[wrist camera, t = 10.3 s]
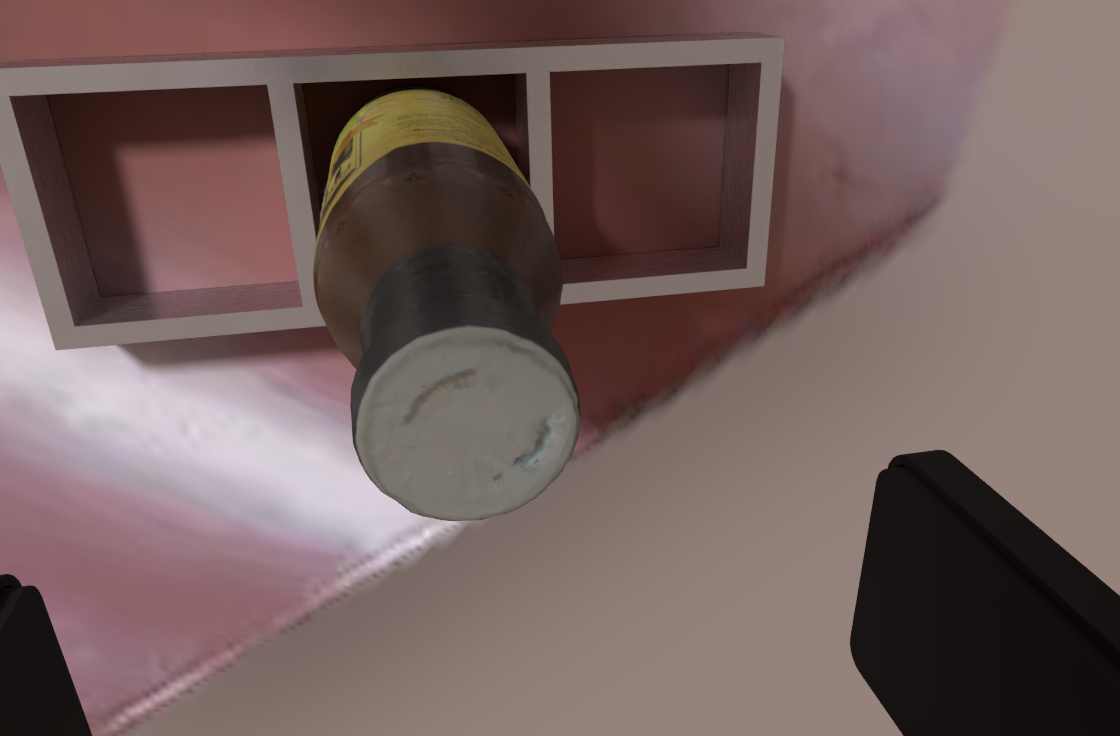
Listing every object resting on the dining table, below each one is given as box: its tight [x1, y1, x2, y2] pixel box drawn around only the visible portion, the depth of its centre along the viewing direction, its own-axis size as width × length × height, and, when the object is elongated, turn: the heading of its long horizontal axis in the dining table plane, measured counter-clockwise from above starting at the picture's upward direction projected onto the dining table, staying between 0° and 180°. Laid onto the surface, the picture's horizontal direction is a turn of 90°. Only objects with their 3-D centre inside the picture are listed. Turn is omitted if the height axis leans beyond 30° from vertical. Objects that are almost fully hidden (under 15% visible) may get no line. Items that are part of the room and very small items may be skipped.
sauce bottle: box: [313, 86, 581, 521], centre depth 23 cm, size 6×6×20 cm
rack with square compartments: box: [0, 32, 785, 350], centre depth 31 cm, size 9×26×3 cm, turn 91°
